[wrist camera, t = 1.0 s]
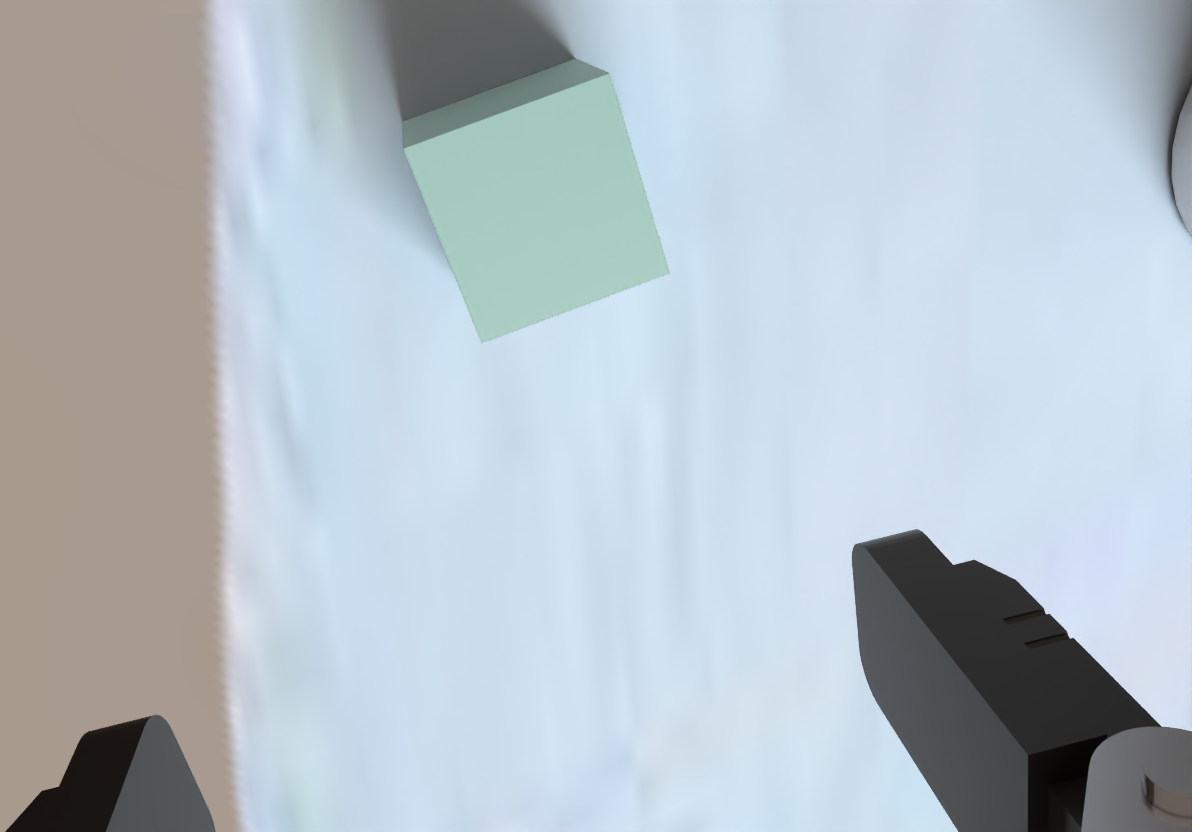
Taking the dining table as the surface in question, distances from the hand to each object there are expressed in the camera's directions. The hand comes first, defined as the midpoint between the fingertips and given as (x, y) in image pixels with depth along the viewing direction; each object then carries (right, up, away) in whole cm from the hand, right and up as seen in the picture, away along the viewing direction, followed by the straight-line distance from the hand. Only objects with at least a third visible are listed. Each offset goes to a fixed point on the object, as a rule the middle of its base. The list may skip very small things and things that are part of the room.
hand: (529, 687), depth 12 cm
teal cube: (-1, +10, +17) cm, 20 cm away
